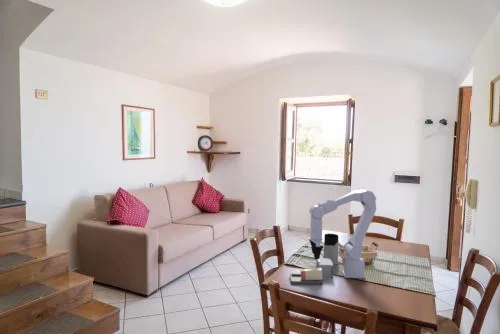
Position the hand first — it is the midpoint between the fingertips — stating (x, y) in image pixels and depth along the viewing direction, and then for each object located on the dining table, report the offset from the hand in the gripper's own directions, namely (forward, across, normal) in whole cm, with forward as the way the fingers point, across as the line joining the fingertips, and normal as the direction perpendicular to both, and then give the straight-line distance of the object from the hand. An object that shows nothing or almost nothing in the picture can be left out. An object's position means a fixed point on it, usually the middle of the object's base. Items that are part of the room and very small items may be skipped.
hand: (315, 256), depth 160 cm
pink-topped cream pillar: (+9, +7, -3) cm, 12 cm away
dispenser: (+10, -2, +5) cm, 11 cm away
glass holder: (+10, -20, +9) cm, 24 cm away
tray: (+10, +7, -6) cm, 13 cm away
